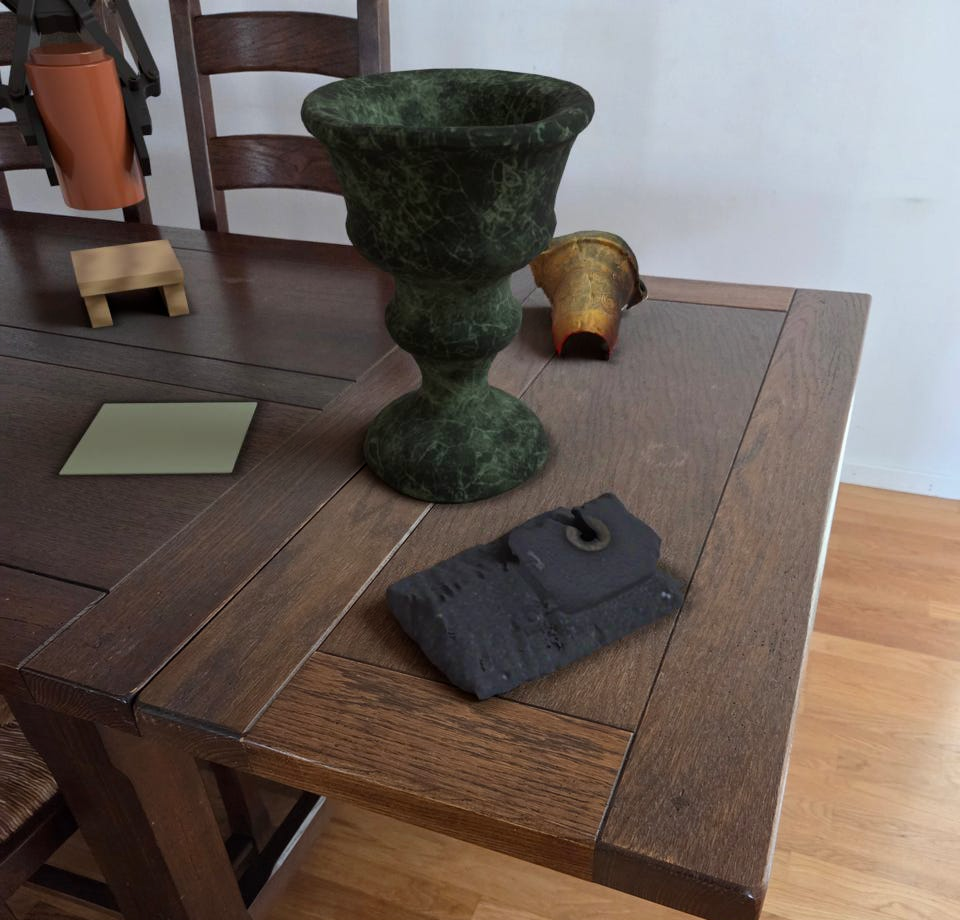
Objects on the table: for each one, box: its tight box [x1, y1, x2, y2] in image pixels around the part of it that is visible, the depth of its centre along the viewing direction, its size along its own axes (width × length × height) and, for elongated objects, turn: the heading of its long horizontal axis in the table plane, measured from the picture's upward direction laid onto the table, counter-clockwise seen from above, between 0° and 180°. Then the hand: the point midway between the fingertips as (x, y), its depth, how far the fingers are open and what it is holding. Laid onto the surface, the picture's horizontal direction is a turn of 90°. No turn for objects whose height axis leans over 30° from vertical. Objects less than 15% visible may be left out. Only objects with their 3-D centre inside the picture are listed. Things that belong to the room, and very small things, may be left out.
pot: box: [527, 229, 649, 361], centre depth 105 cm, size 17×11×18 cm
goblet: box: [300, 67, 596, 504], centre depth 76 cm, size 22×23×30 cm
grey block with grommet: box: [385, 492, 685, 700], centre depth 67 cm, size 15×22×5 cm
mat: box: [58, 401, 258, 476], centre depth 88 cm, size 16×14×1 cm
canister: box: [24, 42, 146, 212], centre depth 79 cm, size 7×7×12 cm
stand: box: [70, 238, 190, 329], centre depth 111 cm, size 12×12×6 cm
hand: (99, 171), depth 78 cm, fingers closed on canister, 7 cm apart
